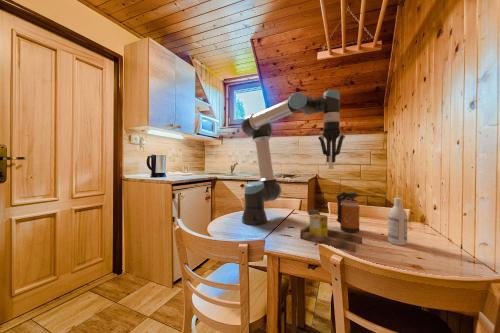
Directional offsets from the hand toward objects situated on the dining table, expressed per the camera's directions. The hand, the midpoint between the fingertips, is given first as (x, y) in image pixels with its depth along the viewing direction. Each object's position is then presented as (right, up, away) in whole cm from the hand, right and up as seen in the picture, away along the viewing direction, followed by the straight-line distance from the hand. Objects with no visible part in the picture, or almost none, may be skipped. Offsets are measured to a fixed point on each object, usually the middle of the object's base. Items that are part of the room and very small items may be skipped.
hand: (331, 168), depth 109 cm
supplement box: (-9, -33, -8) cm, 35 cm away
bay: (-4, -33, -9) cm, 34 cm away
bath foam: (+24, -33, -14) cm, 43 cm away
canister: (+10, -33, +3) cm, 34 cm away
